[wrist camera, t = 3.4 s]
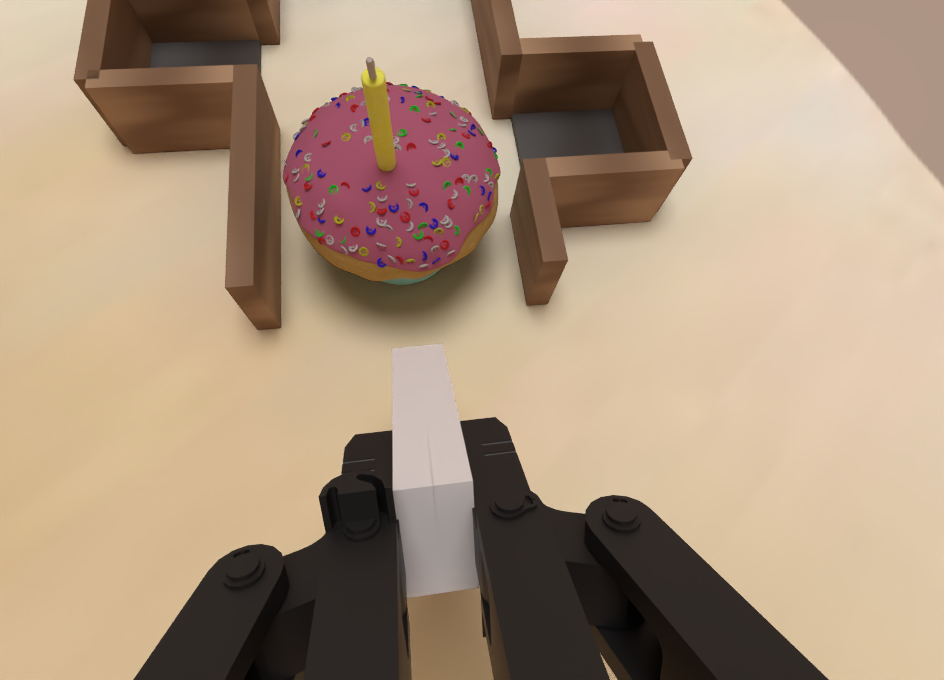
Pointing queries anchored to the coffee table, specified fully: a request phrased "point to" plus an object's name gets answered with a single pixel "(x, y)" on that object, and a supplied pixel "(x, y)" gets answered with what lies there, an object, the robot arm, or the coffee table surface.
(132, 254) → the coffee table surface
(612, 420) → the coffee table surface
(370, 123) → the cupcake
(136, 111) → the trap lane
